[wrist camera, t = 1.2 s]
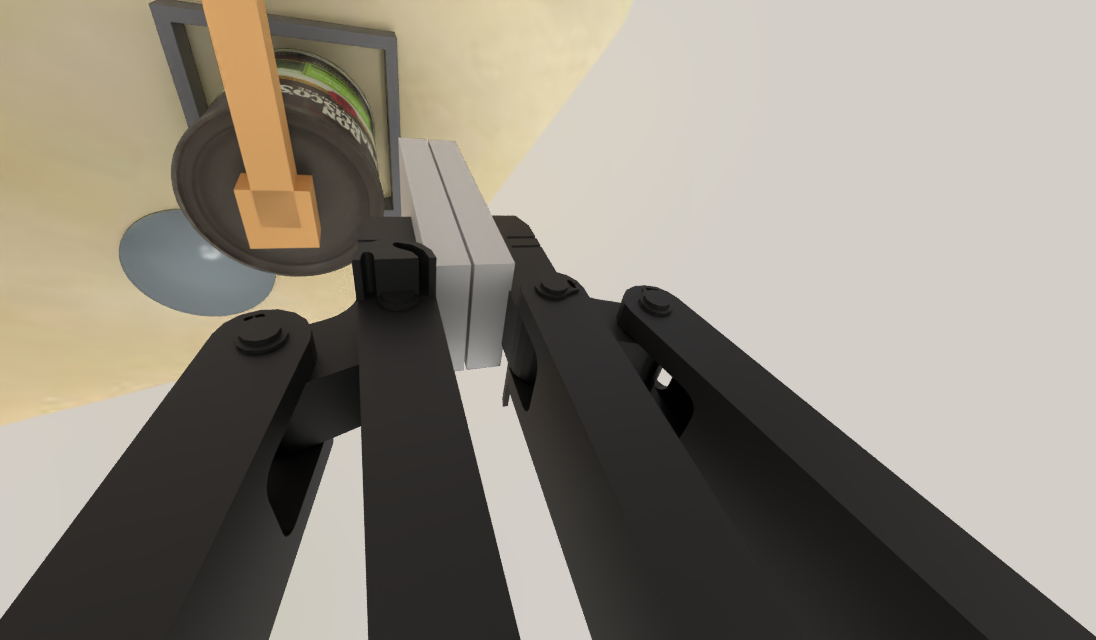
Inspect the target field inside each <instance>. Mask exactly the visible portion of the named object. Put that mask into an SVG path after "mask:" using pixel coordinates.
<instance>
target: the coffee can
mask: <svg viewBox="0 0 1096 640" xmlns="http://www.w3.org/2000/svg"><path fill="white" fill-rule="evenodd" d="M273 50H274V55H275V60H276V66H277V71H278V76H279V82H280V87H281V92H282V98H283V103H284V108H285V113H286V119H287V124H288V129H289V135H290V140H291V145H292V151H293V156H294V161H295V166H296V172H297V175H312V178H313V184H314V190H315V196H316V202H317V208H318V214H319V220H320V226H321V237H320V248H267V249H250V246H249V242H248V239H247V235H246V232H245V228H244V225H243V221H242V218H241V214H240V211H239V207H238V204H237V200H236V197H235V193H234V188H235V185H236V183H237V181H238V178H239V176H240V174H241V173H246V170H245V166H244V162H243V158H242V154H241V150H240V147H239V143H238V139H237V135H236V131H235V127H234V124H233V120H232V116H231V112H230V108H229V105H228V101H227V97H226V93H225V89H223V90H222V92H221V93H220V94H219V96H218V97H217V98H216V99H215V100H214V102H213V103H212V104H211V105H210V107H209V108H208V109H207V110H206V111H205V113H204V114H203V115H202V116H201V117H200V118H199V119H198V120H196V121H195V122H194V123H193V124H192V125H191V126H190V127H189V128H188V129H187V130H186V132H185V133H184V134H183V136H182V137H181V139H180V141H179V142H178V145H177V147H176V149H175V152H174V154H173V159H172V165H171V179H172V186H173V191H174V194H175V197H176V200H177V202H178V204H179V206H180V209H181V211H182V212H183V214H184V216H185V217H186V219H187V220H188V221H189V223H190V224H191V226H192V227H193V228H194V229H195V230H196V231H197V233H198V234H199V235H200V236H201V237H202V238H203V239H204V240H206V241H207V242H208V243H209V244H210V245H211V246H213V247H214V248H215V249H217V250H218V251H220V252H221V253H223V254H224V255H226V256H227V257H229V258H231V259H233V260H235V261H237V262H238V263H240V264H243V265H245V266H248V267H250V268H253V269H256V270H259V271H263V272H266V273H271V274H276V275H283V276H314V275H320V274H325V273H329V272H332V271H335V270H338V269H341V268H343V267H345V266H347V265H349V264H351V263H352V258H353V255H354V252H355V251H356V250H358V239H357V227H358V226H359V225H360V224H361V222H362V221H363V220H364V219H365V218H366V217H384V197H383V191H382V186H381V183H380V180H379V174H378V165H377V156H376V146H375V125H374V119H373V115H372V112H371V109H370V106H369V104H368V102H367V100H366V98H365V97H364V95H363V93H362V92H361V90H360V89H359V88H358V86H357V85H356V84H355V83H354V81H353V80H352V79H351V78H350V77H349V76H348V75H347V74H346V73H345V72H344V71H342V70H341V69H340V68H338V67H337V66H336V65H334V64H333V63H331V62H329V61H328V60H326V59H324V58H322V57H319V56H317V55H314V54H312V53H308V52H305V51H301V50H296V49H288V48H284V49H273Z"/></svg>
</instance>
